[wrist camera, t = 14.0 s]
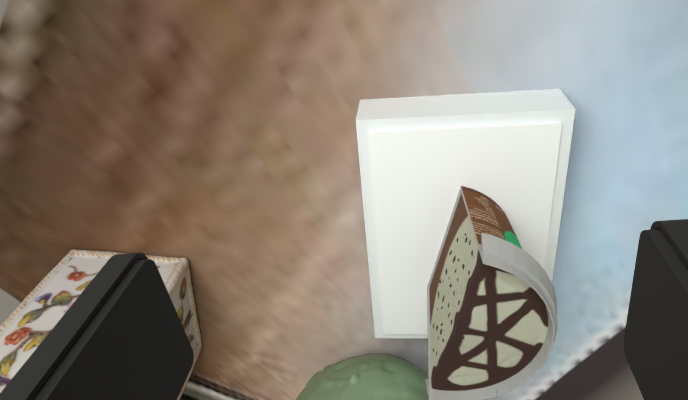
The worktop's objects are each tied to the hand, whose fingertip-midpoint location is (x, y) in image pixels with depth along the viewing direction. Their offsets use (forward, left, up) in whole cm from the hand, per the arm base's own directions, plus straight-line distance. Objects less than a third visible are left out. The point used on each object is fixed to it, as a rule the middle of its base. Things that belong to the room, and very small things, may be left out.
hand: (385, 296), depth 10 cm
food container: (-6, +17, -25) cm, 30 cm away
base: (-4, +16, -29) cm, 33 cm away
